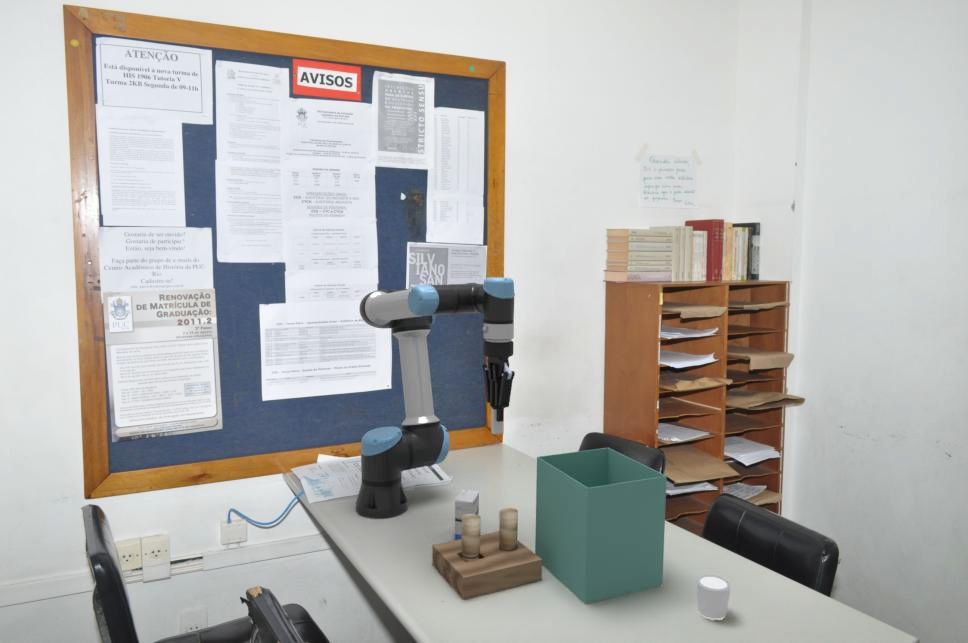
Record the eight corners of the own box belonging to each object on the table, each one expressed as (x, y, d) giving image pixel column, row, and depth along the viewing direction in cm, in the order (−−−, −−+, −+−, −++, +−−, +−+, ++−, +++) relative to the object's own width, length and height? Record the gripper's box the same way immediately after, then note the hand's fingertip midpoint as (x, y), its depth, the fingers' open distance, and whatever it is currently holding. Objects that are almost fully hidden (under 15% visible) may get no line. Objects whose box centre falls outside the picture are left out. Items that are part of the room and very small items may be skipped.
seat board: (432, 564, 162) (432, 509, 161) (504, 548, 171) (505, 496, 170) (463, 599, 146) (463, 538, 145) (541, 580, 155) (542, 522, 154)
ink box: (472, 546, 173) (472, 501, 172) (453, 544, 174) (454, 500, 173) (479, 532, 181) (479, 490, 180) (461, 530, 182) (461, 488, 181)
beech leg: (457, 572, 158) (458, 515, 156) (474, 568, 160) (475, 512, 158) (465, 581, 154) (466, 522, 153) (482, 577, 156) (484, 519, 155)
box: (535, 558, 166) (536, 456, 164) (605, 544, 175) (608, 447, 172) (584, 604, 145) (587, 488, 142) (662, 585, 153) (666, 476, 151)
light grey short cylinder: (689, 605, 145) (691, 575, 144) (720, 604, 145) (722, 573, 145) (702, 623, 138) (704, 591, 137) (734, 622, 139) (736, 590, 138)
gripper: (473, 337, 170) (472, 428, 172) (497, 344, 158) (496, 441, 161) (499, 335, 173) (498, 425, 175) (524, 342, 161) (523, 437, 164)
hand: (497, 432), depth 168 cm, fingers closed
